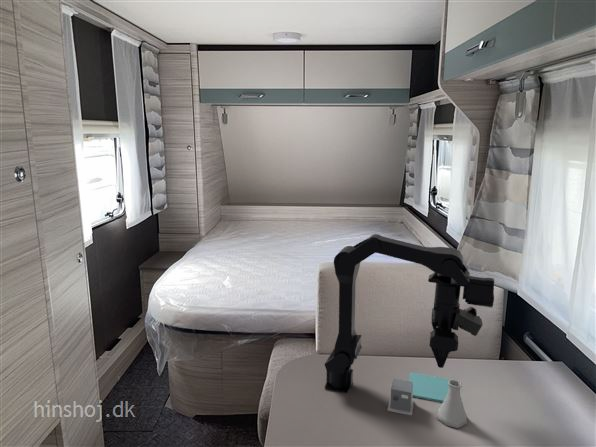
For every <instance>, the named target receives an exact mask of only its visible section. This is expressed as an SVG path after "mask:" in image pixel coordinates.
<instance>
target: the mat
mask: <svg viewBox="0 0 596 447" xmlns="http://www.w3.org/2000/svg"><path fill="white" fill-rule="evenodd" d="M449 380H451V379H450V378H447V377H439V376H434V375H430V374H429V375H427V374H423V373H417V372H416V373H415V372H412V371H411V372H409V378H408V381H411V382H413V398H416V399H422V400H426V401H427V400H428V401H434V402H439V403H443V402H444V400H445V398H446V396H447V394H448V390H449V385H448V382H449Z"/></svg>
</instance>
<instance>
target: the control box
mask: <svg viewBox="0 0 596 447" xmlns="http://www.w3.org/2000/svg"><path fill="white" fill-rule="evenodd" d="M413 398H414V397H413V382H411V381H409V380H404V379H398V378H394V377H393V378H392V384H391V387H390V397H389V402H388V406H387V411H388V412H393V413H398V414H402V415H403V414H404V415H407V416H412V415H413V409H414V399H413Z"/></svg>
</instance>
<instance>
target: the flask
mask: <svg viewBox="0 0 596 447" xmlns="http://www.w3.org/2000/svg"><path fill="white" fill-rule="evenodd" d="M462 384H463V383H462V382H461V381H460V380H458V379H453V378H451V379H450V380H449V382H448V385H449V390H448V394H447V396H446V398H445V400H444V402H441V405H440V406H439V409H438V411H437V414H436V419H437V420H438V421H440V422H441V423H442V424H443V425H445V426H447V427H452V428H455V429H460V428H461V427H463V426H466V425H467V422H468V421H467V420H468V417H467V413H466V410H465V407H464V404H463V403H464V402H463V399H462V397H461V388H462V387H463V386H462Z"/></svg>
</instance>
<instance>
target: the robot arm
mask: <svg viewBox="0 0 596 447" xmlns="http://www.w3.org/2000/svg"><path fill="white" fill-rule="evenodd" d="M374 254H380V255H383V256H387V257H392V258H396V259H398V260H403V261H407V262H411V263H414V264H419V265H422V266H424V267H426V268H428V269H429V270H430V271H431V272H433V273H431V274H429V275H428V280H427V281H428V283H432V284H435V290H434V298H433V308H432V310H431V318H430V319H431V326H432V329H433V330H432V331H430V334H429V335H430V336H429V347H430V349H431V351H432V354H433V357H434V358H435V362H436V365H437V367H438V368H440V369H444V367H445V365H446V361H447V359H448V357H449V354H450V353H451V352H456V351H458V349H459V335H458V334H456V332H454V330H455V331H459V329H461V330H463V331H465V332H467V333H469V334H471V336H474V337H476V336H477V335H478V334H479V332H480V330H481V328H482V327H483V320H482V319H481V317H480V315H478V314H477V309H476V308H475V307H473V306H479V307H485V308H491V309H492V308H493V306H494V302H495V294H494V293H495V292H494V290H495V288H494V287H495V278H493V277H479V276H472V275H471V272H470V271H469V270H468V268H467V266H466V265H465V264H464V257H463V254H462V253H461V251H460V250H459V249H457V248H456V247H455V248H454V247H446V246H445V247H444V246H434V247H433V246H431V247H430V246H424V245H420V244H419V245H418V244H415V243H410V242H407V241H403V240H398V239H394V238H390V237H386V236H382V235H381V234H379V233H374V234H372V235H370V236H369V237H367V238H366V239H364V240H362V241H360V242H358V243H356V244H355V245H353V246H352V245H347V246H344V247H343V248H342V249H341V250H340V251H339V252H338V253H337V254H336V255H335V256H334V259H333V267H334V273H335V276H336V278H337V281H338V291H339V292H338V334H337V338H336V341H335V344H334V348H333V350H331V353H330V354H329V356H328V358H327V359H326V361H325V363H324V367H325V371H326V379H325V380H326V382H325V385H324V389H325V390H330V391H335V392H340V393H344V394H347V393H349V391H350V388H351V387H352V385H353V383H354V382H353V380H354V376H353V375H354V370H353V369H352V365H353V364H354V363H355V360H357V359H358V357H359V354H360V352H361V350H362V348H363V347H362V344H361V343H362V342H361V341H362V334H357V332H356V329H355V325H356V324H355V323H356V320H355V318H356V280H357V278H358V273H359V270H360V265H361V263H362V262H364V261H365V260H366V259H368V258H369V257H371V256H372V255H374ZM461 287H462V288H463V291H462V300H464V302H465V303H466V304H467V305H473V306H469V307H467V308H464V309H461V308H460V307H461V306H460V298H461V297H460V295H461V289H462V288H461Z"/></svg>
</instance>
